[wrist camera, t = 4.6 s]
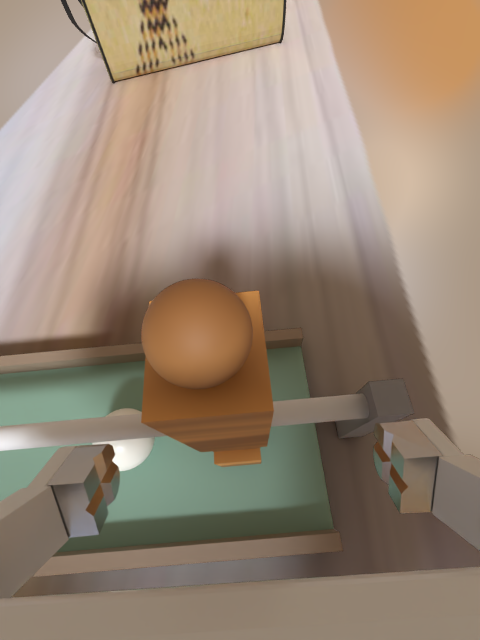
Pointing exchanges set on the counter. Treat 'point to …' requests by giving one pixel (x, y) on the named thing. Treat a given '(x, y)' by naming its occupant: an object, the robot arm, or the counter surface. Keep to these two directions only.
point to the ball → (129, 446)
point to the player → (208, 370)
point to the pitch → (182, 459)
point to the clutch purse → (177, 31)
